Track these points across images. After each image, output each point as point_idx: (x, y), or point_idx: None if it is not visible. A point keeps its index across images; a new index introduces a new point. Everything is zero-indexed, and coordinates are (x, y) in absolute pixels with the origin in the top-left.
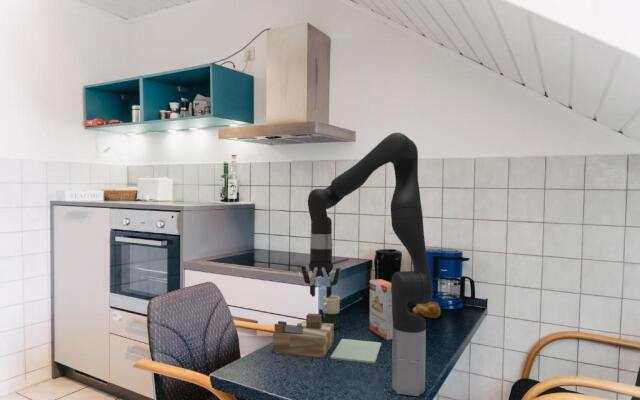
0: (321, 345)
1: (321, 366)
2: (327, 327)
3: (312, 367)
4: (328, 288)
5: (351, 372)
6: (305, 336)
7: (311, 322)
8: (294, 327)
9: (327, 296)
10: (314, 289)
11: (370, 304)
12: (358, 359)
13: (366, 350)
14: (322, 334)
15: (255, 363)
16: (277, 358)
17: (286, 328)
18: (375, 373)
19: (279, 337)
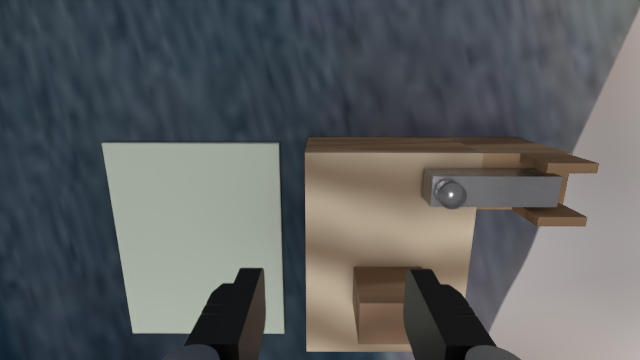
0: (313, 145)
1: (292, 54)
2: (322, 299)
3: (324, 33)
4: (213, 330)
5: (165, 28)
6: (396, 152)
7: (401, 282)
8: (473, 176)
9: (249, 270)
10: (423, 345)
11: None
12: (167, 146)
13: (163, 243)
14: (320, 196)
15: (563, 6)
16: (485, 85)
17: (515, 173)
18: (76, 46)
19: (525, 149)
